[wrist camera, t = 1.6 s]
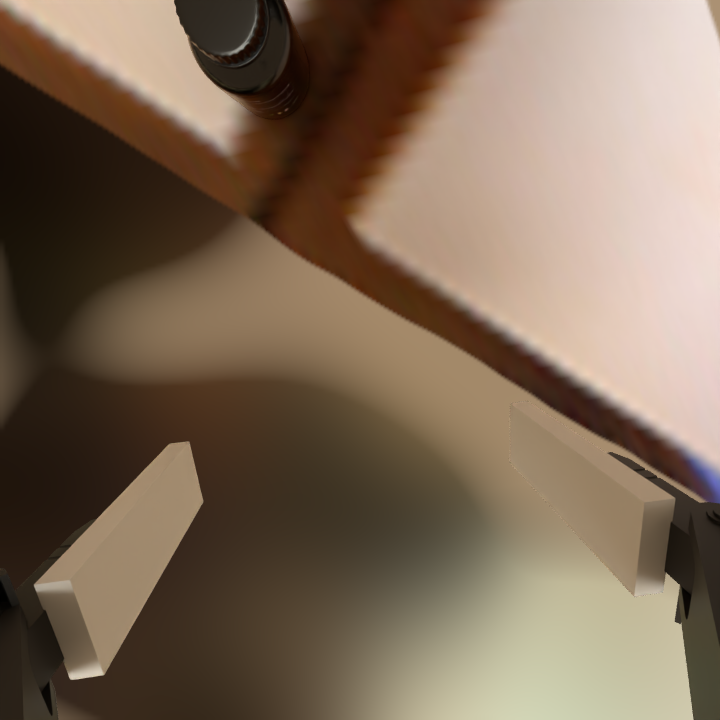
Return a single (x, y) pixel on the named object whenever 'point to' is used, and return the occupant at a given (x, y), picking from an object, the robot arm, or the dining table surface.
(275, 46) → the supplement bottle
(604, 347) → the dining table surface
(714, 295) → the dining table surface
